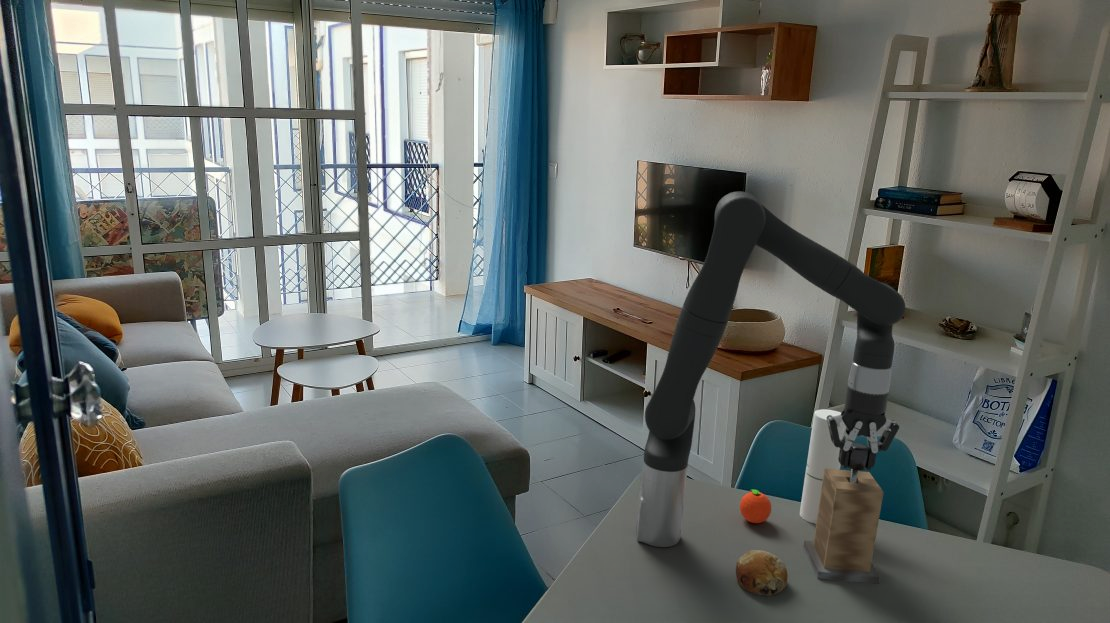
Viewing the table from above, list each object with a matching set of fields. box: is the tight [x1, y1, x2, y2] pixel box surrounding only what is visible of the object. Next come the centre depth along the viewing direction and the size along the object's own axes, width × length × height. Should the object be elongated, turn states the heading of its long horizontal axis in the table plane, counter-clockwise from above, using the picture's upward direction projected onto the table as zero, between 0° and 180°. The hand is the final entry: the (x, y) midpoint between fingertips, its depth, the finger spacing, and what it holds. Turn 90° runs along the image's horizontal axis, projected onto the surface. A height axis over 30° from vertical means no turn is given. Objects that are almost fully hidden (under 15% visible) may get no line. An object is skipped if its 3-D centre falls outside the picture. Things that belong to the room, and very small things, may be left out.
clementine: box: [739, 489, 772, 524], centre depth 180 cm, size 8×7×7 cm
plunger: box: [847, 442, 869, 483], centre depth 161 cm, size 7×7×24 cm
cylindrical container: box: [799, 408, 846, 525], centre depth 181 cm, size 7×7×25 cm
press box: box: [803, 469, 884, 584], centre depth 162 cm, size 12×12×19 cm
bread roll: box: [735, 549, 789, 597], centre depth 156 cm, size 10×10×8 cm
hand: (855, 466), depth 159 cm, fingers closed on plunger, 4 cm apart
